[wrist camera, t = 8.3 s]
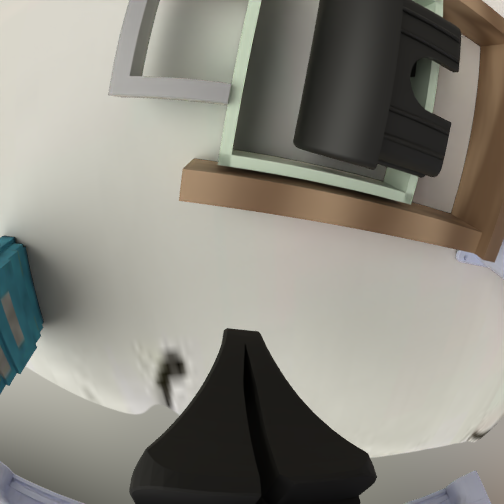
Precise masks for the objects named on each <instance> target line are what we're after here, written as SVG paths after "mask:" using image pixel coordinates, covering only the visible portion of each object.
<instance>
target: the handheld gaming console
mask: <svg viewBox="0 0 504 504" xmlns="http://www.w3.org/2000/svg"><path fill="white" fill-rule="evenodd" d="M43 322H44V321H43V318H42V315H41V311H40V308H39V304H38V300H37V297H36V293H35V289H34V285H33V280H32V276H31V271H30V267H29V262H28V257H27V251H26V247H24V246H23V244H16V241H15V237H10V236H2V237H1V238H0V394H1V392H2V390H3V389H4V387H5V385H10V384H11V382H12V380H13V379H14V377H15V375H16V373H19V374H21V372H22V370H23V369H24V367H25V366H26V364H27V362H28V361H29V359H30V358H31V356H32V354H33V353H34V351H35V350H36V348H37V346H36V342H37V341H38V339H39V338H40V336H41V335H40V331H41V330H42V328H43V326H42V324H43Z"/></svg>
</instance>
